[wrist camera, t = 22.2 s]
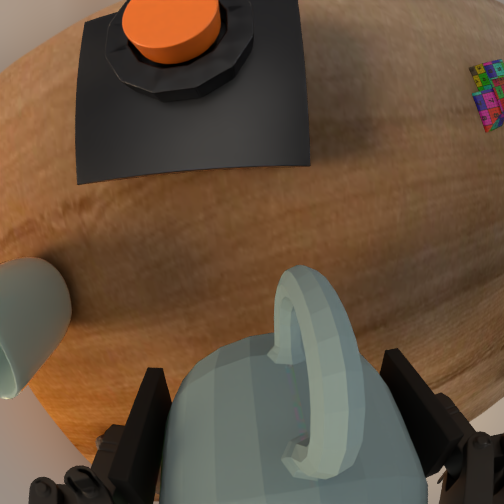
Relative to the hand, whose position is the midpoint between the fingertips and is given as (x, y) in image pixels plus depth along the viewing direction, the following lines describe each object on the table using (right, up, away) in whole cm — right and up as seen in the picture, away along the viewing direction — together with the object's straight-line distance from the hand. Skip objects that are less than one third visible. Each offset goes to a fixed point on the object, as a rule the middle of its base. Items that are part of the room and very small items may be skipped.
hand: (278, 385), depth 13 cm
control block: (-5, +16, +4) cm, 18 cm away
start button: (-5, +17, -3) cm, 18 cm away
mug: (0, 0, +1) cm, 1 cm away
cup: (-18, +3, +7) cm, 20 cm away
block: (+20, +21, +4) cm, 29 cm away
